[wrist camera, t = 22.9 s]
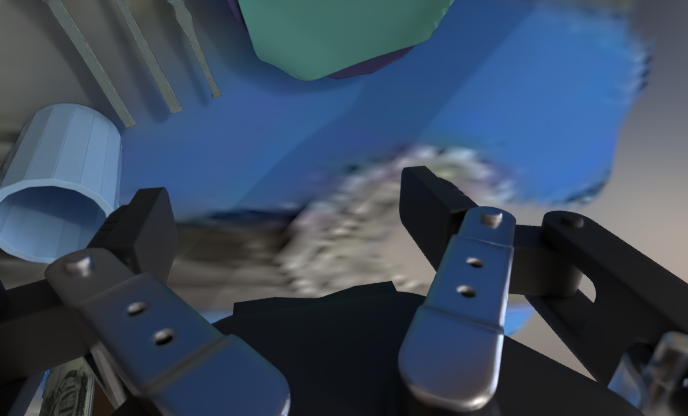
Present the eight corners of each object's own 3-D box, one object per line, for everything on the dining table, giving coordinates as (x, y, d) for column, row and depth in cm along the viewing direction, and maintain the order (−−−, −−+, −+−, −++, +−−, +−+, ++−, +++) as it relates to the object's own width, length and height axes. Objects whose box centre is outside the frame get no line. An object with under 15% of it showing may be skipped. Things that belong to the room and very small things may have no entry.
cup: (61, 85, 26) (30, 158, 19) (139, 139, 30) (138, 216, 23) (4, 142, 26) (-47, 234, 19) (88, 188, 31) (72, 277, 23)
